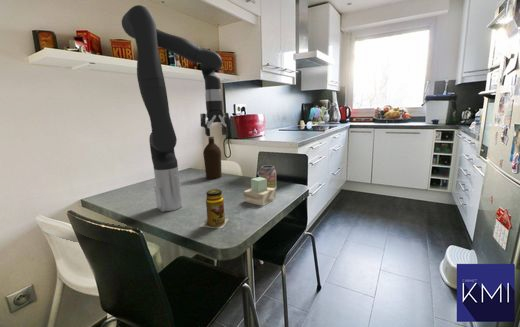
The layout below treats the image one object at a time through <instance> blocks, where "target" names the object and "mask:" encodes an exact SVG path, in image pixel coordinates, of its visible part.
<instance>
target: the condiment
mask: <svg viewBox="0 0 520 327" xmlns="http://www.w3.org/2000/svg"><path fill="white" fill-rule="evenodd" d="M205 193H206V199H205V206H206V218H205V219H204V220H203V222H202V223H201V224H200V225H199V226H198V228H211V229H223V228H224V227H225V226H226V224H227V223H228V220H229V218H225V217H226V216H225V215H226V214H225V204H224V203H225V201H224V198H223V192H222V190H221V189H215V188H214V189H209V190H208V191H206V192H205Z"/></svg>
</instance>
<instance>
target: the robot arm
mask: <svg viewBox="0 0 520 327" xmlns="http://www.w3.org/2000/svg"><path fill="white" fill-rule="evenodd" d="M121 18H122V19H121V27H122V29H123V30H124V32H125V33H126V35H128V36H129V37H130V38H131V39H134V41H135V44H136V45H135V46H136V48H137V61H136V62H137V63H136V78H137V84H138V88H139V92H140V96H141V98H142V102H143V103H144V106H145V109H146V111H147V113H148V116H149V120H150V127H151V133H150V134H149V140H148V141H149V149H150V154H151V155H150V156H151V161H152V165H153V172H154V180H155V186H154V193H155V204H156V209H157V210H159V211H160V212H162V213H163V212H172V211H175V210H178V209H180V208H182V205H183V204H182V195H181V193H182V192H181V185H180V184H181V183H180V176H179V175H180V174H179V167H178V166H179V164H178V159H177V157H176V154H175V153H176V152H175V147H176V145H177V141H178V140H177V139H178V138H177V135H176V132H175V128H174V125H173V122H172V119H171V114H170V107H169V100H168V99H169V98H168V94H167V87H166V82H165V81H166V80H165V76H164V72H163V67H162V61H161V58H160V52H159V48H161V49H164V50H166V51H168V52H171V53H172V54H175V55H176V56H177V55H178V56H180V57H182V58H184V59H186V60H187V61H189V62H190V63H191V62H192V63H193V64H200V71H201V73H202V76H203V80H204V88H205V94H204V97H205V107H206V108H205V110H206V113H200V127H202V128H204V133H205V136H206V137H211V128H210V127H211V125H212V124H215V123H218V124H220V125H221V135H223V136H226V134H227V127H228V126H230V125H231V124H230V116H229V112H223V108H224V107H223V94H222V86H221V85H222V84H221V83H222V82H221V79H220V77H219V76H216V71H217V70H220V69H221V68H222V66H223V59H222V57H221V56H220V54H219V53H217V52H216V51H214V50H210V49H208V48H205V47H201V46H199V45H198V44H195V43H194V42H192V41H190V40H188V39H187V38H185V37H184V38H183V37H181V36H177V35H175V34H171V33H168V32H164V31H162V30H161V29H158V28H157V24H156V20H155V17H154V15H153V14H152V12H151V11H150V10H149V9H148V8H147V7H145V6H143V5H141V4H137V5H134V6H132V7H131V8H129V9H128V10H127V12H126V13H124V15H123V17H121ZM206 119H207V120H206Z"/></svg>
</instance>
